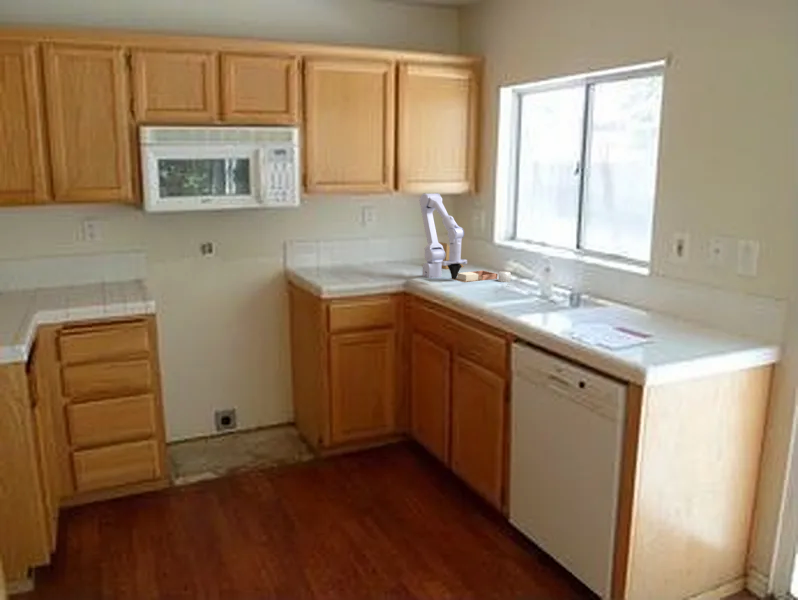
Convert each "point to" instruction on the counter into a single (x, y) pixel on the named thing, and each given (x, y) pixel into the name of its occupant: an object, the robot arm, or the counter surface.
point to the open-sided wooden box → (481, 276)
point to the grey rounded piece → (504, 276)
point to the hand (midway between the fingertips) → (453, 278)
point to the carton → (467, 276)
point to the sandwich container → (446, 254)
